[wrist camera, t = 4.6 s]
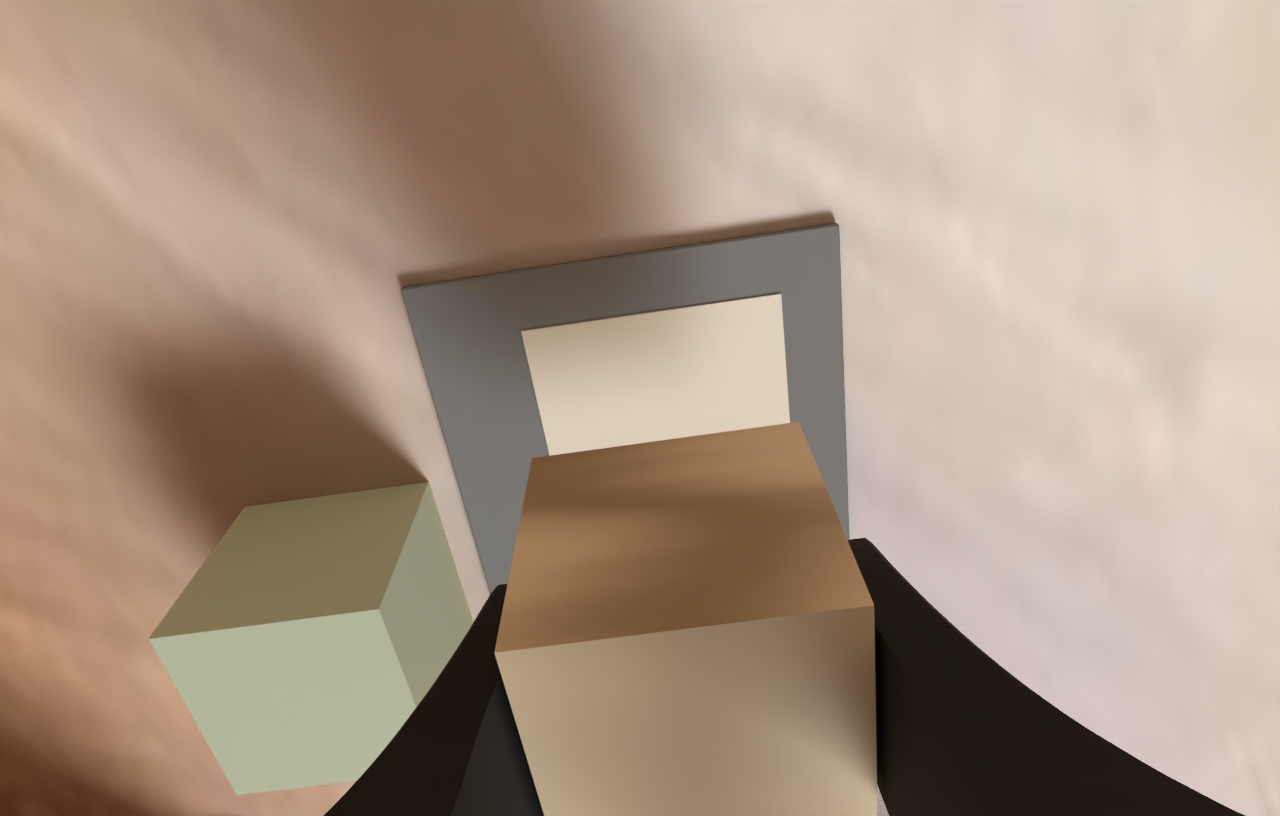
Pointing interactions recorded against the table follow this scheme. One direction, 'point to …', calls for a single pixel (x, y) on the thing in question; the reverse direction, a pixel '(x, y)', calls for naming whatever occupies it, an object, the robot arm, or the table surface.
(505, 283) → the slate mat
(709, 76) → the table surface
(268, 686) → the sage block
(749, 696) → the beech block
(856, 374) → the table surface
